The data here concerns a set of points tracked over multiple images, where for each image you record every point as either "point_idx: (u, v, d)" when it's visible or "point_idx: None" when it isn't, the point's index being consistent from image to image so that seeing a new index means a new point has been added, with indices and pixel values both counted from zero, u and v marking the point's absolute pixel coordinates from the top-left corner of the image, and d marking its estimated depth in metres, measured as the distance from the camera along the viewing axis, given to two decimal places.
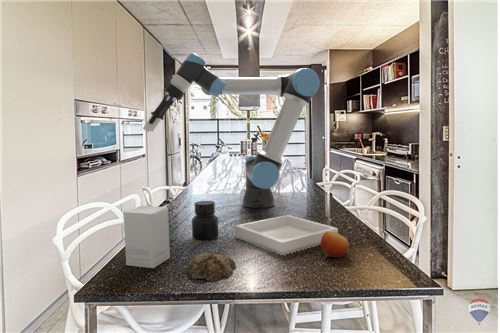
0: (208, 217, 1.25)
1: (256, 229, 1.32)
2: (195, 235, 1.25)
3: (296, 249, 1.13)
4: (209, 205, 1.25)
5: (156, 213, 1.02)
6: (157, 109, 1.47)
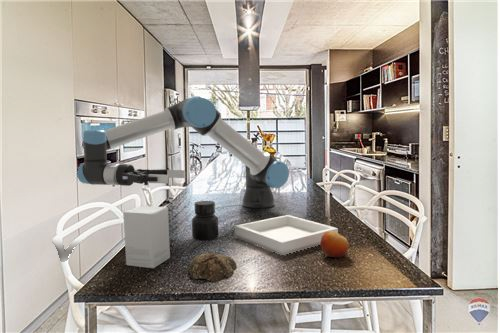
0: (208, 217, 1.25)
1: (256, 229, 1.32)
2: (195, 235, 1.25)
3: (296, 249, 1.13)
4: (209, 205, 1.25)
5: (156, 213, 1.02)
6: (136, 181, 1.22)
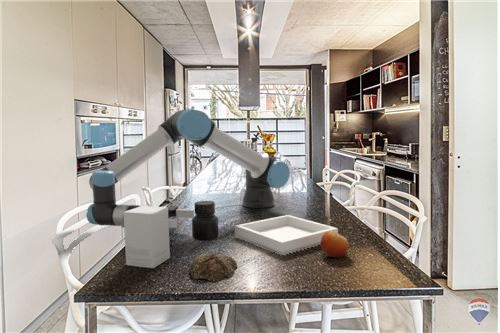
0: (208, 217, 1.25)
1: (256, 229, 1.32)
2: (195, 235, 1.25)
3: (296, 249, 1.13)
4: (209, 205, 1.25)
5: (156, 213, 1.02)
6: None
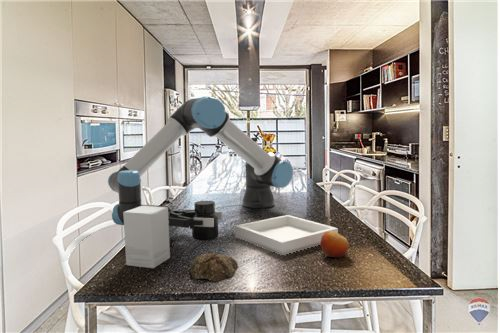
0: (208, 217, 1.25)
1: (256, 229, 1.32)
2: (195, 235, 1.25)
3: (296, 249, 1.13)
4: (209, 205, 1.25)
5: (156, 213, 1.02)
6: (182, 225, 1.22)
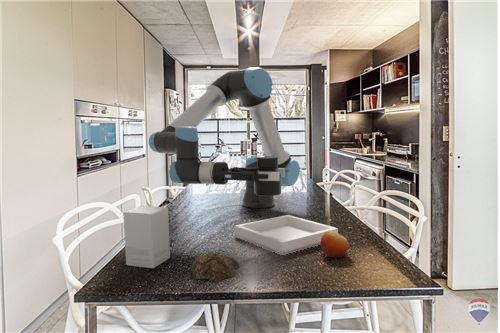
0: (272, 171, 1.20)
1: (256, 229, 1.32)
2: (259, 190, 1.20)
3: (296, 249, 1.13)
4: (273, 159, 1.20)
5: (156, 213, 1.02)
6: (247, 179, 1.17)
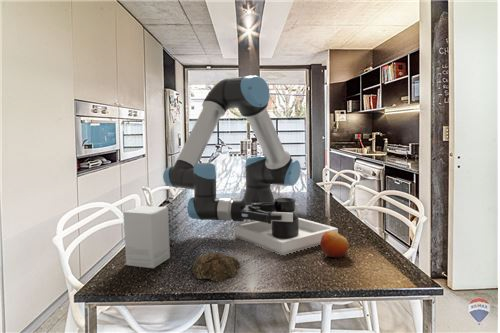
0: None
1: (256, 229, 1.32)
2: (277, 233, 1.23)
3: (296, 249, 1.13)
4: (291, 202, 1.23)
5: (156, 213, 1.02)
6: (261, 219, 1.18)
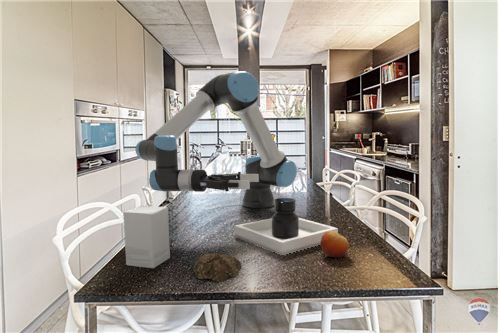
0: (290, 215, 1.23)
1: (256, 229, 1.32)
2: (277, 233, 1.23)
3: (296, 249, 1.13)
4: (291, 202, 1.23)
5: (156, 213, 1.02)
6: (218, 187, 1.19)
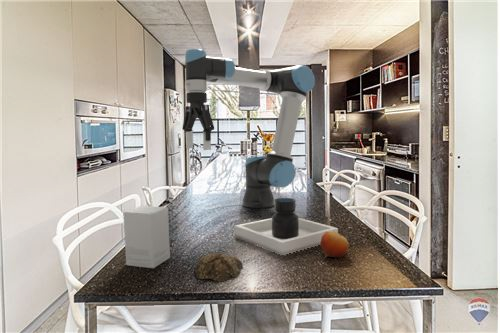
0: (290, 215, 1.23)
1: (256, 229, 1.32)
2: (277, 233, 1.23)
3: (296, 249, 1.13)
4: (291, 202, 1.23)
5: (156, 213, 1.02)
6: (208, 123, 1.36)
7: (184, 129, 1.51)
